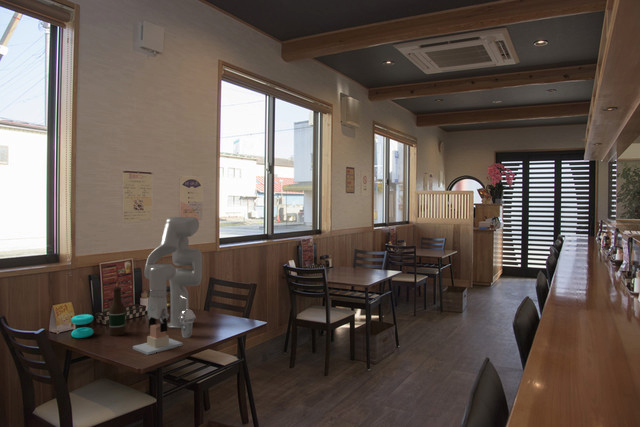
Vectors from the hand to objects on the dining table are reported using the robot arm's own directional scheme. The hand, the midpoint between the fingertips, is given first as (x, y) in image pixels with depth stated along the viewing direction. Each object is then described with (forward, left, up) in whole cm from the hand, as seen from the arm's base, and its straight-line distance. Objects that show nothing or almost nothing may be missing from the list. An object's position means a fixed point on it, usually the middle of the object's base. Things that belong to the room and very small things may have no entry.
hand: (158, 329), depth 213 cm
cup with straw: (-19, -5, -8) cm, 21 cm away
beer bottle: (+2, -35, -8) cm, 36 cm away
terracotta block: (0, 0, -3) cm, 3 cm away
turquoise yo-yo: (+15, -45, -9) cm, 48 cm away
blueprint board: (0, 0, -8) cm, 8 cm away
